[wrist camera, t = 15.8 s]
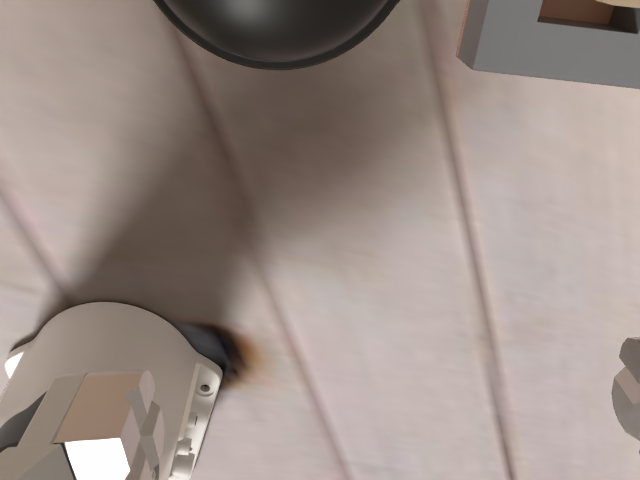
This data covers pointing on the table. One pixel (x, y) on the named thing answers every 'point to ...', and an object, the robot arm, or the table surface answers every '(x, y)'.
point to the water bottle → (277, 28)
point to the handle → (622, 3)
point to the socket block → (553, 40)
